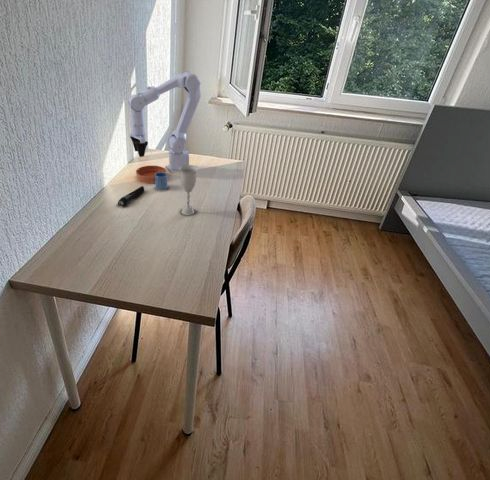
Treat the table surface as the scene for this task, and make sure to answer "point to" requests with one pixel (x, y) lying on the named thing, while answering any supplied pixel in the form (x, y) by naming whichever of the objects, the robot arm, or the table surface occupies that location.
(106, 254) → the table surface
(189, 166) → the chalice
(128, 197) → the electric trimmer
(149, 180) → the bowl
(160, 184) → the blue cup
